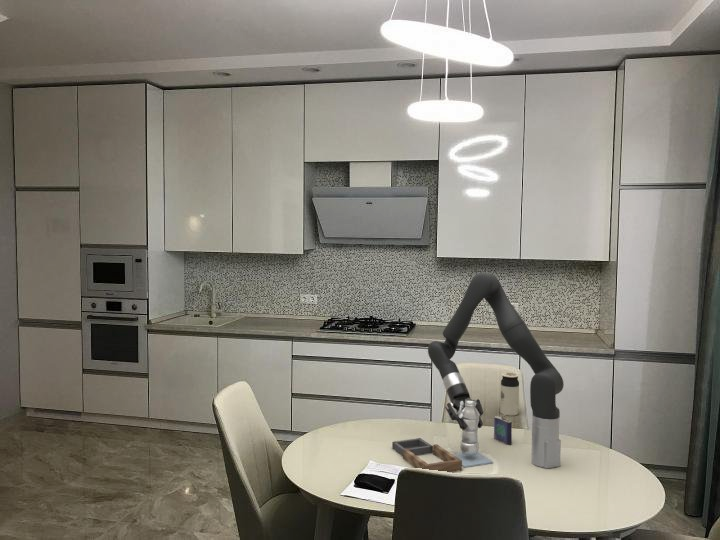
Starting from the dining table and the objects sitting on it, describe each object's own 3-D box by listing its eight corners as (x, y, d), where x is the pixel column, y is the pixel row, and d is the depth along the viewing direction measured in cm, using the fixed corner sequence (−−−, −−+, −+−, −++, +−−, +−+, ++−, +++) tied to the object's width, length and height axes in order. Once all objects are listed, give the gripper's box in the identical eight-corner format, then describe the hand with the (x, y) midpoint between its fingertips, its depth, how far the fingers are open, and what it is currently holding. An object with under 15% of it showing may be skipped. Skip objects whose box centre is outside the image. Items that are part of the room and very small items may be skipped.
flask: (492, 438, 244) (492, 412, 244) (498, 437, 246) (498, 411, 245) (508, 445, 236) (508, 418, 235) (513, 444, 237) (514, 417, 237)
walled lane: (461, 470, 211) (461, 460, 211) (426, 476, 206) (426, 466, 205) (436, 453, 227) (436, 444, 227) (402, 458, 222) (402, 449, 222)
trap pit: (432, 452, 228) (432, 446, 227) (404, 457, 223) (404, 450, 223) (420, 444, 237) (420, 437, 237) (392, 448, 232) (392, 441, 232)
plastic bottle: (465, 449, 226) (466, 396, 224) (482, 454, 221) (483, 399, 220) (456, 454, 221) (457, 400, 219) (473, 459, 216) (474, 403, 215)
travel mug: (516, 411, 282) (517, 372, 280) (519, 416, 274) (520, 376, 273) (499, 410, 282) (500, 372, 281) (501, 415, 274) (502, 376, 273)
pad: (493, 463, 218) (493, 461, 218) (464, 467, 213) (464, 466, 213) (474, 451, 229) (474, 450, 229) (446, 456, 224) (446, 454, 224)
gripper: (442, 384, 224) (459, 425, 213) (476, 380, 229) (494, 420, 219) (435, 394, 229) (451, 435, 219) (468, 391, 234) (485, 430, 224)
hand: (472, 427), depth 219 cm, fingers closed on plastic bottle, 6 cm apart
